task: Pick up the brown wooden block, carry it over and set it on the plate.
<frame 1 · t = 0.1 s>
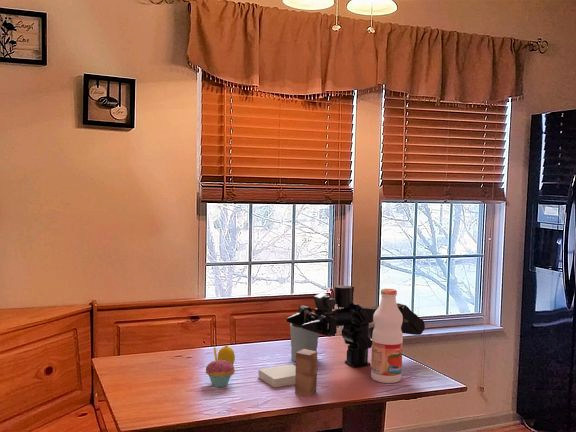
hand: (294, 323, 183), 17 cm above the table, tool horizontal, fingers open, 9 cm apart
lemon: (226, 370, 188), on the table
brown wooden block: (305, 392, 169), on the table
plate: (283, 379, 180), on the table
fruit juice: (386, 379, 183), on the table
grey cup: (304, 359, 201), on the table
cupcake: (219, 384, 175), on the table
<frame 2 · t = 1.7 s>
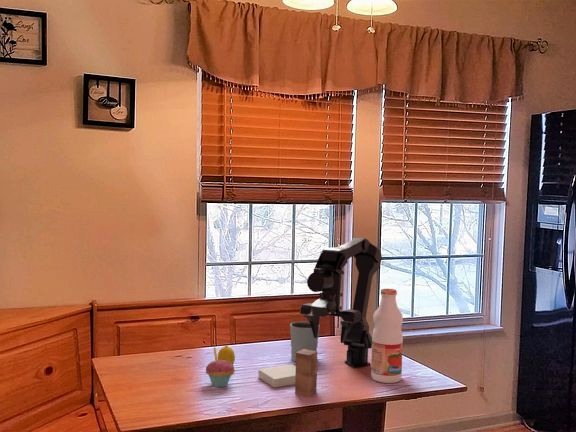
hand: (328, 340, 179), 13 cm above the table, tool pointing down, fingers open, 9 cm apart
nothing on the table moved.
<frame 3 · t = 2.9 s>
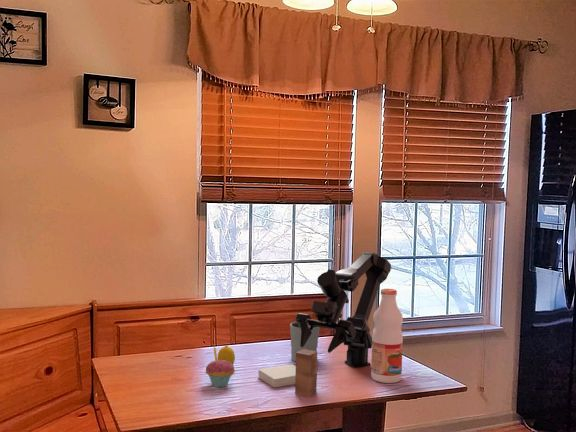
hand: (314, 349, 172), 12 cm above the table, tool tilted 45°, fingers open, 9 cm apart
nothing on the table moved.
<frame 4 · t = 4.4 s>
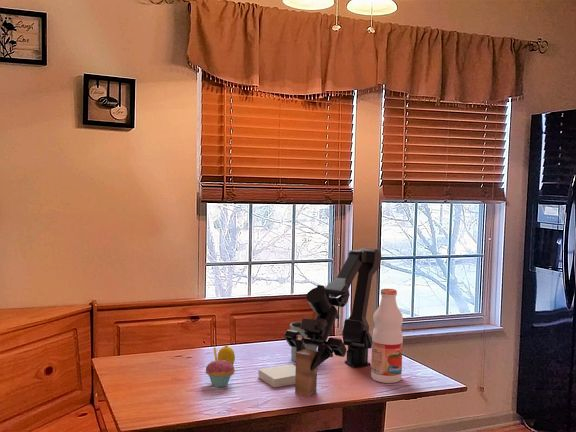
hand: (303, 368, 167), 8 cm above the table, tool tilted 45°, fingers closed on brown wooden block, 4 cm apart
brown wooden block: (305, 392, 169), on the table, touching gripper
everything else where it was.
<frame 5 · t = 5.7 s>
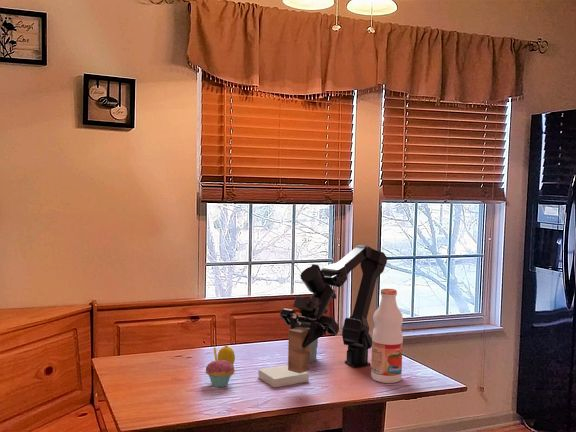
hand: (296, 345, 170), 13 cm above the table, tool tilted 45°, fingers closed on brown wooden block, 4 cm apart
brown wooden block: (298, 370, 171), point 6 cm above the table, touching gripper
everything else where it was.
when the fingers open (11 cm above the table, at t = 7.1 s): brown wooden block drops 1 cm, resting on plate.
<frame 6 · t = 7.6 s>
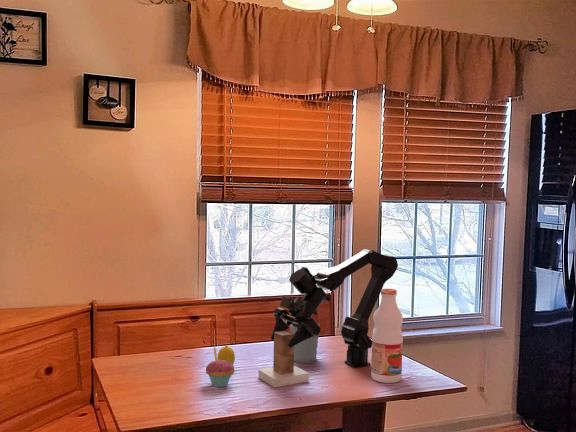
hand: (280, 342, 179), 12 cm above the table, tool tilted 45°, fingers open, 9 cm apart
brown wooden block: (283, 371, 180), point 2 cm above the table, touching plate
everything else where it was.
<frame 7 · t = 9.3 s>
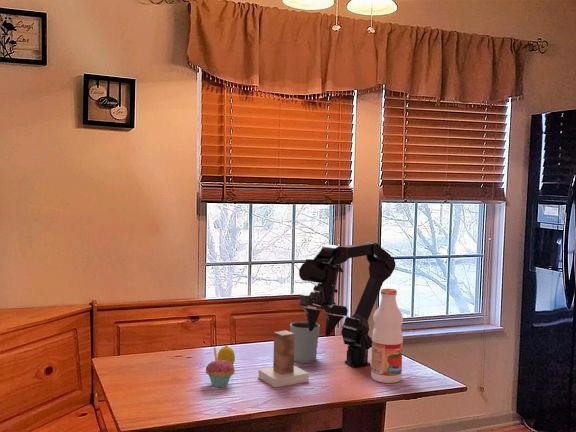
hand: (318, 333, 184), 13 cm above the table, tool pointing down, fingers open, 9 cm apart
nothing on the table moved.
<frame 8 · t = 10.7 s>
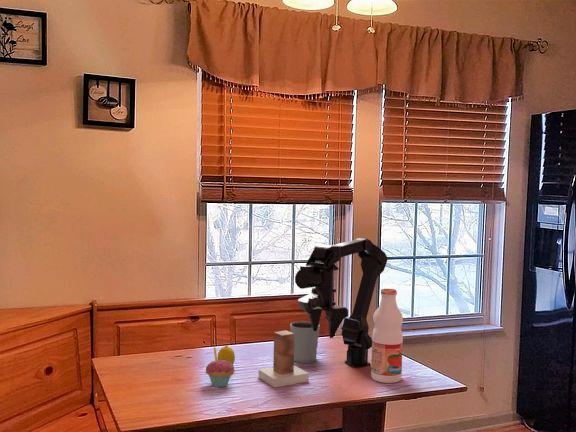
hand: (323, 334, 184), 13 cm above the table, tool pointing down, fingers open, 9 cm apart
nothing on the table moved.
at the end: brown wooden block inside the target area on the plate (0.0 cm from its centre), point 2.5 cm above the plate's base; brown wooden block tilted 0°; the gripper is holding nothing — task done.
